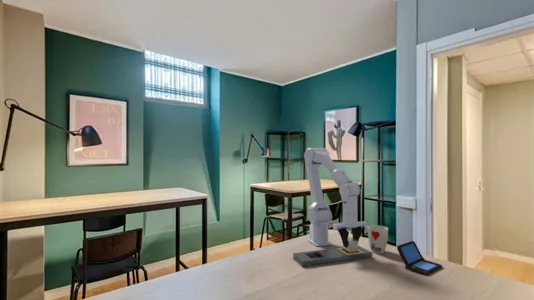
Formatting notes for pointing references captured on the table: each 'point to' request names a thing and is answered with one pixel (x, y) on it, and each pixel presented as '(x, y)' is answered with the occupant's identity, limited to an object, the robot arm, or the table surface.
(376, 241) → the cup
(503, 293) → the table surface
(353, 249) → the steel block
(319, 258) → the grey slotted board
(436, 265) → the handheld game console
